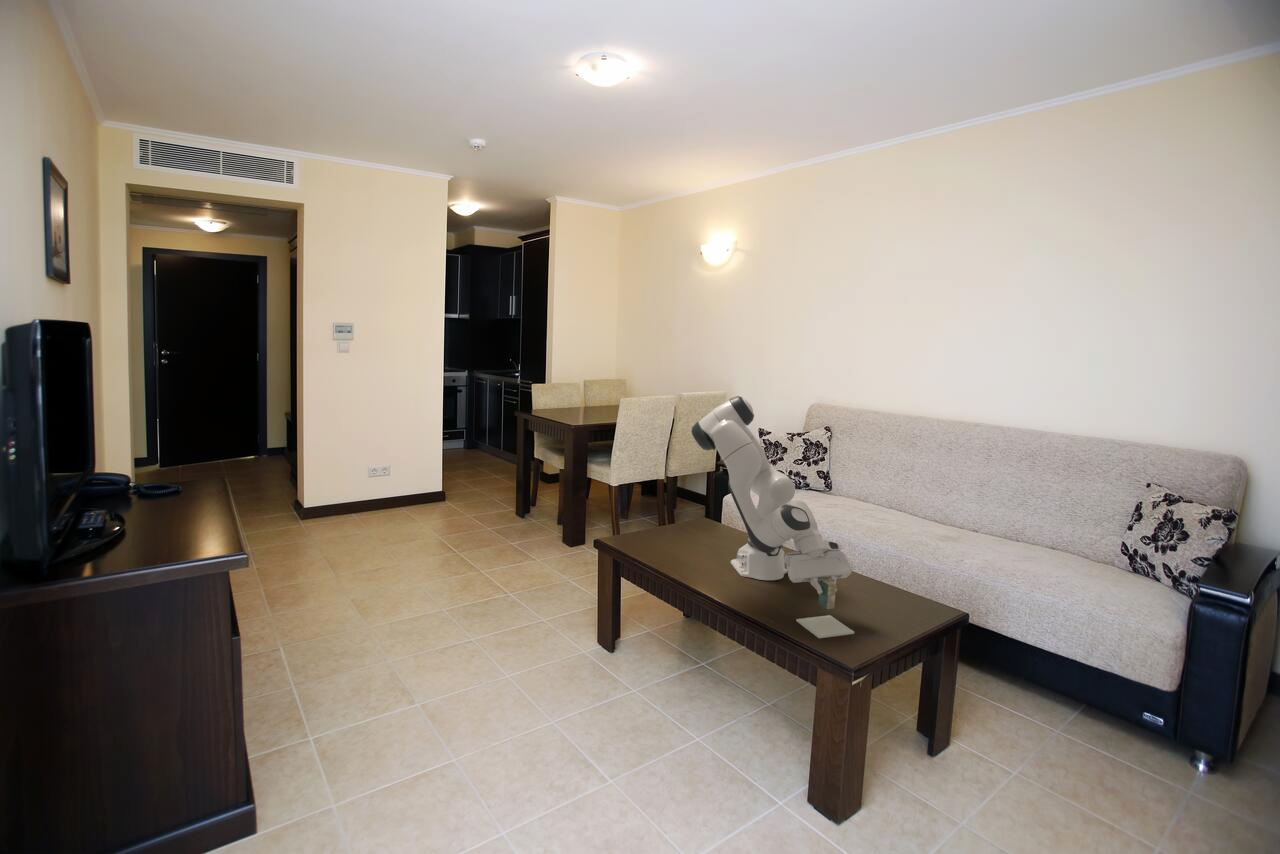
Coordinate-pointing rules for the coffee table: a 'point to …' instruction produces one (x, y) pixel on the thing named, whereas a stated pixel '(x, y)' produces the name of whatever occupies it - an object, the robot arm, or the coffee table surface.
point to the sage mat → (824, 626)
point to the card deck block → (827, 594)
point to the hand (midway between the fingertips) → (828, 592)
